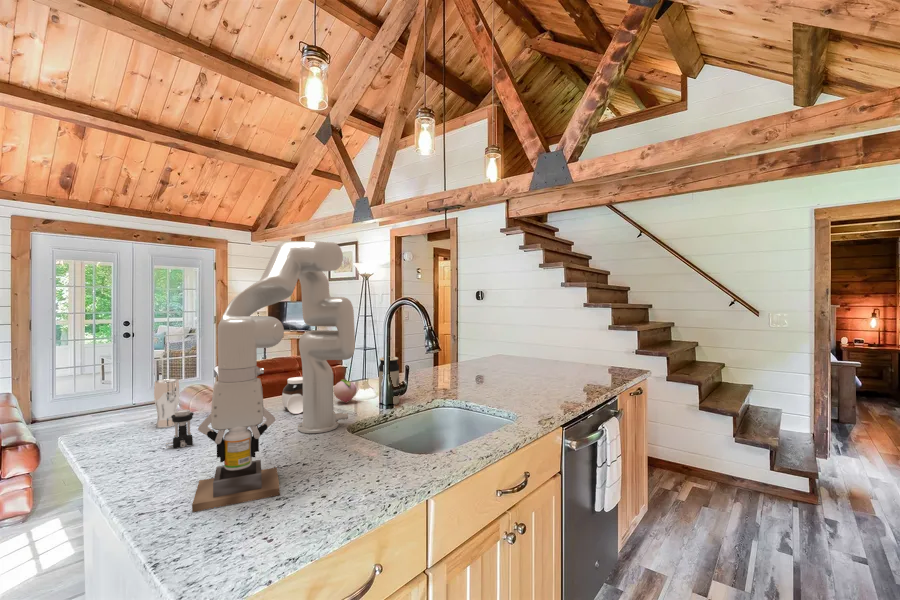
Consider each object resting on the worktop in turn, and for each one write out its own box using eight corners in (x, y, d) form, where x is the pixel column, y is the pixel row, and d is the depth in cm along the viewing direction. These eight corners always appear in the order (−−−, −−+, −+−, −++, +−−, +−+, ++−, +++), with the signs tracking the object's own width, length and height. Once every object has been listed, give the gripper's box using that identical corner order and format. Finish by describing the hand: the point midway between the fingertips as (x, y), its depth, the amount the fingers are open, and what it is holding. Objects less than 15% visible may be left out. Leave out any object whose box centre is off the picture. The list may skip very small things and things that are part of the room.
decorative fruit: (329, 402, 166) (329, 377, 166) (348, 399, 172) (347, 375, 171) (341, 407, 159) (340, 381, 159) (359, 403, 165) (359, 378, 165)
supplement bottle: (231, 461, 93) (230, 418, 93) (255, 460, 93) (255, 417, 93) (219, 471, 87) (219, 425, 87) (246, 470, 88) (245, 425, 88)
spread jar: (302, 404, 163) (302, 375, 163) (320, 409, 156) (320, 378, 156) (274, 411, 153) (274, 380, 153) (292, 416, 147) (292, 384, 147)
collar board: (276, 473, 99) (276, 454, 99) (279, 495, 88) (279, 474, 88) (199, 487, 92) (199, 467, 92) (192, 512, 81) (192, 489, 81)
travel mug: (375, 404, 163) (375, 359, 163) (385, 399, 170) (385, 356, 170) (393, 406, 160) (392, 360, 160) (402, 401, 167) (402, 357, 167)
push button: (165, 451, 114) (165, 415, 113) (165, 446, 118) (165, 411, 118) (194, 446, 117) (193, 411, 117) (193, 441, 122) (192, 407, 122)
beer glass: (184, 423, 139) (184, 379, 139) (164, 429, 133) (164, 383, 133) (169, 421, 142) (169, 377, 141) (149, 427, 135) (148, 381, 135)
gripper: (279, 369, 97) (279, 446, 97) (194, 375, 90) (194, 458, 90) (281, 374, 90) (281, 456, 90) (189, 381, 83) (190, 471, 83)
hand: (238, 456), depth 90 cm, fingers closed on supplement bottle, 5 cm apart
